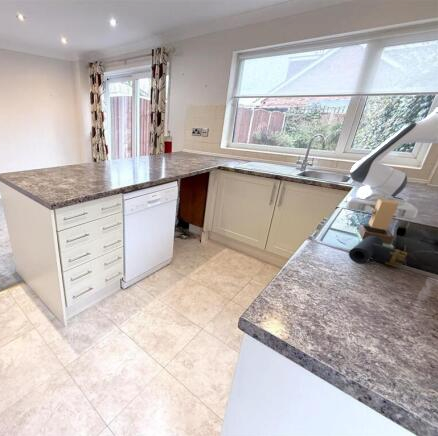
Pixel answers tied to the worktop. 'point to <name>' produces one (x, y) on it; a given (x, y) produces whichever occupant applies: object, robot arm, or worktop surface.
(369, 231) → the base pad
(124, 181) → the worktop surface
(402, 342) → the worktop surface
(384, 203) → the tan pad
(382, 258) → the pipe connector
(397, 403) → the worktop surface
